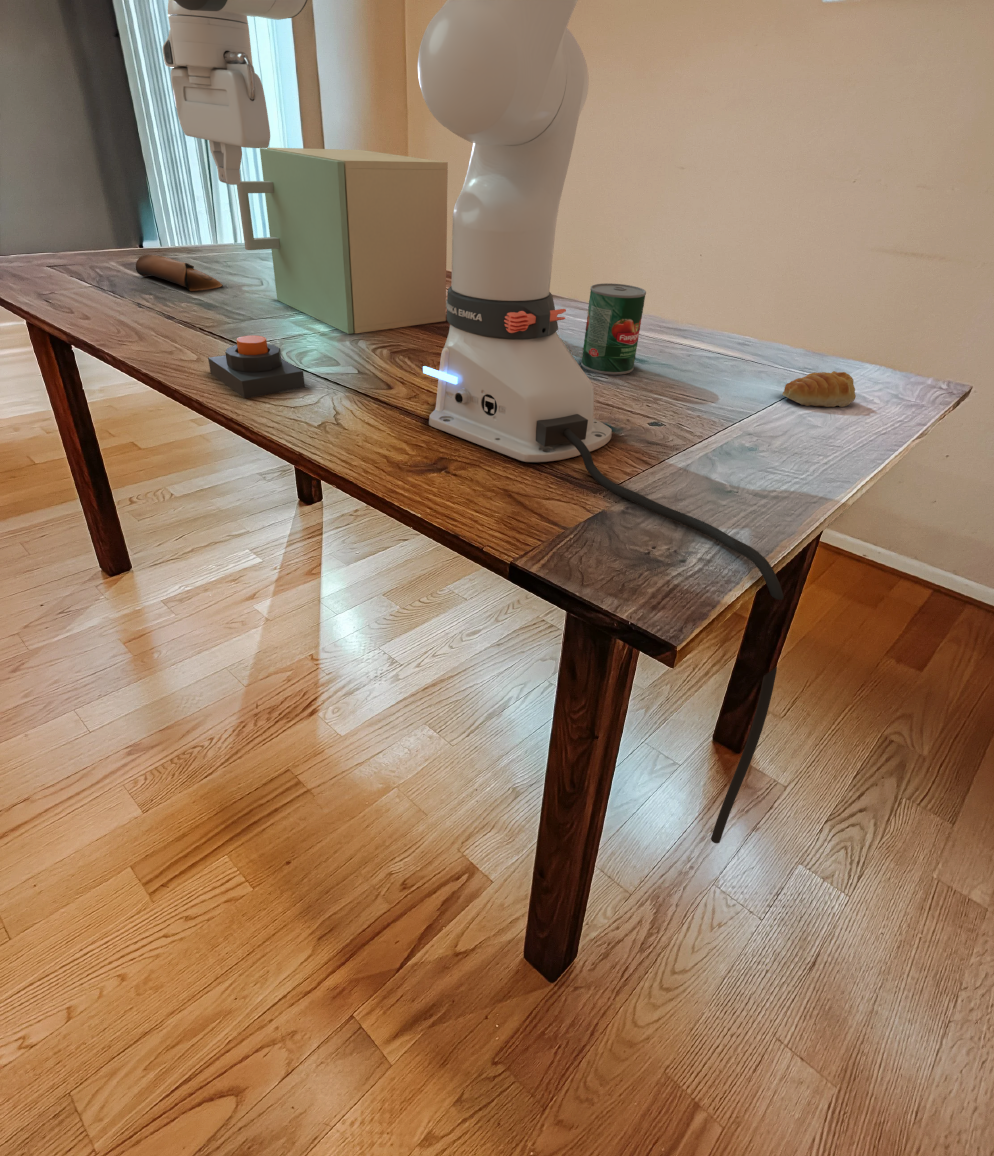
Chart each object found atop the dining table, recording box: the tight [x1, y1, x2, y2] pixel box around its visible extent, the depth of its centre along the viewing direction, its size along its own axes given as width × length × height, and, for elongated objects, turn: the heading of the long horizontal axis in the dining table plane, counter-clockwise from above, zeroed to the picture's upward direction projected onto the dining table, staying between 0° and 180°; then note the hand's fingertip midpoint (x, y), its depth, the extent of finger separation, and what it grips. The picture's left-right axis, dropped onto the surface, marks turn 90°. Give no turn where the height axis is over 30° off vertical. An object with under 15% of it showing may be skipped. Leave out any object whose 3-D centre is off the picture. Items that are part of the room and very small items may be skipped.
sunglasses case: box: [135, 254, 224, 293], centre depth 134 cm, size 18×7×7 cm
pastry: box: [782, 370, 857, 408], centre depth 95 cm, size 9×7×4 cm
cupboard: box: [266, 147, 449, 334], centre depth 118 cm, size 18×26×24 cm
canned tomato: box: [580, 282, 647, 376], centre depth 101 cm, size 8×8×11 cm
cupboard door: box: [236, 148, 355, 335], centre depth 111 cm, size 7×26×24 cm, turn 39°
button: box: [236, 334, 268, 355], centre depth 88 cm, size 4×4×2 cm
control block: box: [207, 343, 306, 399], centre depth 89 cm, size 11×8×4 cm
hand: (230, 183), depth 91 cm, fingers closed
